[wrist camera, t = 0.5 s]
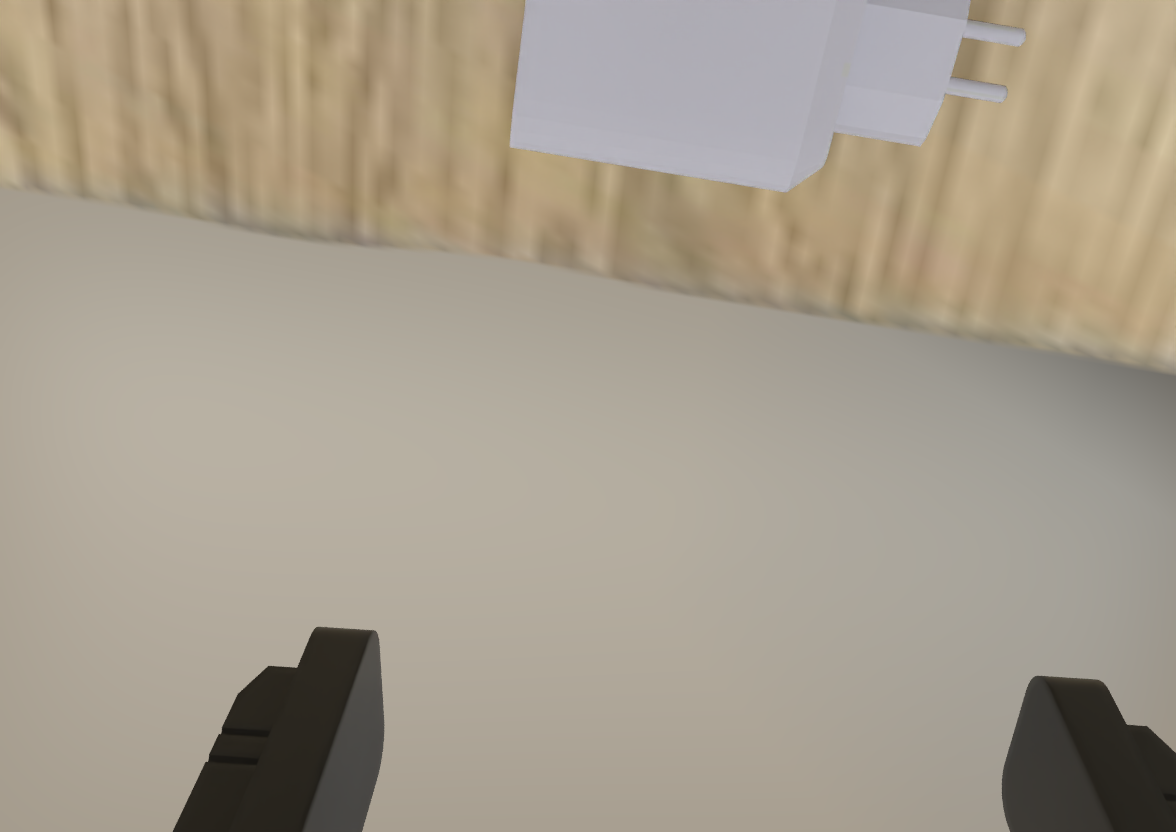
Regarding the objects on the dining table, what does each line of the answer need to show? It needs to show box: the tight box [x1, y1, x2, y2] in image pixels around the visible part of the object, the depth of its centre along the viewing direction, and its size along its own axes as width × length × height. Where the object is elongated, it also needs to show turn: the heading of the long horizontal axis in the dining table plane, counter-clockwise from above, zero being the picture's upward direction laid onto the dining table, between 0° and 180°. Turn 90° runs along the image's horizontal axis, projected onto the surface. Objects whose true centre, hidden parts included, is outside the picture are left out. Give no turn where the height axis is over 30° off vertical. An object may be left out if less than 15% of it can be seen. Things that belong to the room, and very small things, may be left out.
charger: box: [510, 0, 1026, 192], centre depth 34 cm, size 5×9×15 cm
